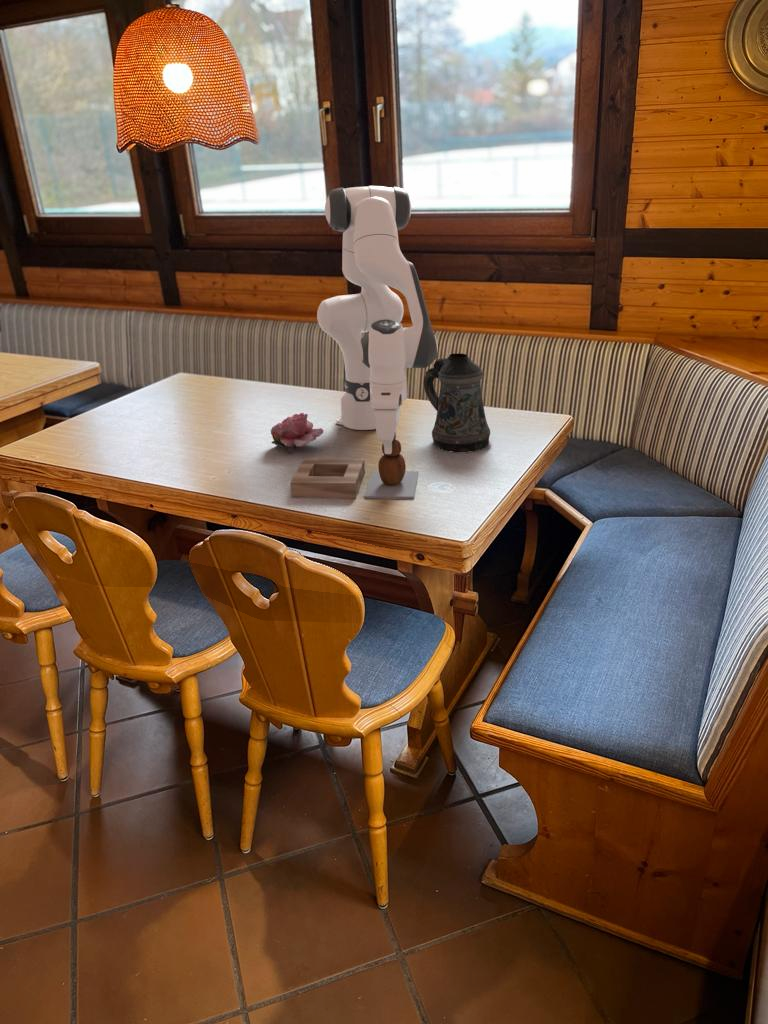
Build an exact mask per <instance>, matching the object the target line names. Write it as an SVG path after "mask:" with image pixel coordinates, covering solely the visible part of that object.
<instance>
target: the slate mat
mask: <svg viewBox="0 0 768 1024" xmlns="http://www.w3.org/2000/svg"><path fill="white" fill-rule="evenodd" d="M418 473H420V472H419V471H418V470H405V475H404V477H403V480H402V481H401V482H400V483H399V484H396V485H385V484H384V483H383V482H382V480H381V478H380V474H379V470H372V472H371V475H370V477H369V481H368V484H367V488H366V490H365V493H364V497H363V498H364V499H379V500H380V499H383V500H384V499H385V500H386V499H388V500H389V499H390V500H395V499H396V500H404V499H405V500H406V499H407V500H414V499H415V495H416V490H417V489H416V488H417V484H418V478H419V474H418Z"/></svg>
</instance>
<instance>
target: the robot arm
mask: <svg viewBox="0 0 768 1024" xmlns="http://www.w3.org/2000/svg"><path fill="white" fill-rule="evenodd" d="M411 214H412V202H411V200H410V196H409V194H408V192H407V191H406V190H405V189H404V188H401V187H397V186H392V187H388V186H382V185H368V186H354V187H346V188H344V187H338V188H333V189H331V191H330V192H329V193H328V195H327V198H326V201H325V204H324V215H325V218H326V221H327V223H328V227H330V228H331V229H332V230H333V231H337V232H340V233H342V256H341V257H342V261H341V262H342V267H341V270H342V274H343V276H344V278H345V279H346V280H348V281H349V282H350V283H352V284H354V285H355V286H359V287H361V291H360V292H359V293H355V294H354V293H353V294H343V295H336V296H333V297H329V298H326V299H323V300H322V301H321V302H320V304H319V306H318V308H317V312H316V319H317V323H318V325H319V327H320V329H321V330H322V332H324V333H325V334H327V335H328V336H329V337H331V338H332V339H334V341H335V342H336V344H337V345H338V346H339V348H340V350H341V353H342V357H343V361H344V362H343V363H344V371H345V378H344V391H345V393H344V394H343V395H342V396H341V397H340V416H339V417H338V418H337V419H336V424H338V425H341V426H343V427H345V428H347V429H351V430H358V431H368V430H369V431H370V430H375V432H376V437H377V441H379V442H382V444H383V445H384V453H385V454H391V453H392V441H393V439H394V435H395V440H397V428H398V426H399V425H398V424H399V421H400V417H401V413H402V408H401V407H402V405H403V403H404V401H406V400H407V399H408V377H407V373H406V368H407V369H408V368H412V369H427V368H428V367H430V365H432V363H433V364H434V362H435V361H436V360H437V357H438V349H439V347H438V340H437V337H436V335H435V333H434V329H433V326H432V324H431V320H430V316H429V313H428V308H427V305H426V301H425V297H424V292H423V288H422V285H421V281H420V279H419V276H418V273H417V269H416V267H415V265H414V264H413V262H411V261H409V260H407V258H406V257H405V256H404V254H403V253H402V250H401V248H400V242H399V234H398V233H399V232H398V231H399V230H403V229H404V228H405V227H406V226H407V225H408V224H409V221H410V218H411ZM390 287H391V288H393V289H395V290H397V291H398V292H400V293H401V294H402V295H403V296H404V298H405V301H406V303H407V307H408V312H409V316H410V319H411V323H412V326H407V327H405V326H403V325H402V323H401V322H402V320H403V317H404V313H405V312H404V311H405V309H404V304H403V301H402V299H401V298H400V296H399V295H398V294H397V293H396V292H394V291H393V290H391V289H390ZM363 333H364V334H363ZM362 334H363V336H362Z"/></svg>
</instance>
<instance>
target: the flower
mask: <svg viewBox="0 0 768 1024" xmlns="http://www.w3.org/2000/svg"><path fill="white" fill-rule="evenodd" d="M308 417H309V416H308V413H304V412H301V413H298V414H297V413H294V414H292V416H287V417H286V418H285V419H283V420H282V421H281V422H277V424H275V425H273V426H272V427H271V429H270V435H271V437H272V440H273V441H271V444H273V445H276V446H281V447H283V448H284V449H285V451H286V452H287V453H288V454H290V452H289V450H288V448H287V447H293V446H294V448H295V449H296V448H299V447H300V448H301V447H304V446H305V445H307V444H309V443H311V442H313V441H316V440H317V438H318V437H321V435H323V434H324V429H323V428H322V427H319V428H314V423H313V422H311V421H309V420H308Z"/></svg>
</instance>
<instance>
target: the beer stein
mask: <svg viewBox="0 0 768 1024" xmlns="http://www.w3.org/2000/svg"><path fill="white" fill-rule="evenodd" d="M483 376H484V371H483V369H482V368H481V367H480V366H479V365H478V364H476V363H475V362H473V361H472V360H471V359H470V358H469V356H468V354H466V353H457V352H456V353H450V354H449V355H448V357H445V358H438V359H435V361H434V362H433V366H432V367H431V368H429V369H427V371H425V375H424V376H423V377H424V378H423V389H424V392H425V394H426V397H427V399H428V401H429V402H430V404H431V406H432V407H433V409H435V411H436V417H435V423H434V425H433V429H432V431H431V438H432V442H433V445H434V444H435V445H434V446H435V448H437V447H438V448H437V449H439V448H440V449H439V450H441V449H443V450H442V451H444V450H445V452H449V451H452V452H451V453H459V452H465V453H470V452H469V451H473V452H477V451H480V450H483V449H482V448H484V449H485V448H486V447H488V446H489V445H490V436H491V429H490V427H489V425H488V422H487V418H486V413H485V407H484V400H483V393H482V385H481V383H482V382H481V381H482V378H483ZM435 379H438V380H439V382H440V387H439V394H437V392H436V389H435V387H434V381H435ZM488 444H489V445H488ZM479 449H480V450H479ZM476 450H477V451H476Z"/></svg>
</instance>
